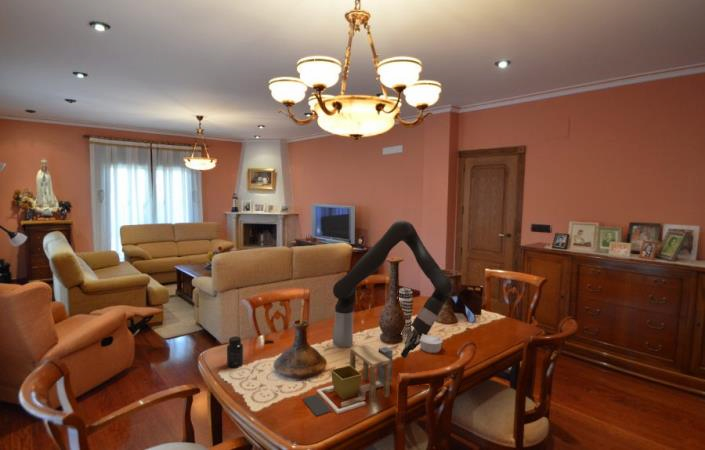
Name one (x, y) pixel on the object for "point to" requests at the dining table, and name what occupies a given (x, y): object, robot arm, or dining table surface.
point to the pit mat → (316, 405)
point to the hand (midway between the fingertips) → (402, 356)
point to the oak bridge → (372, 367)
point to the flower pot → (346, 381)
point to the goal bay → (320, 392)
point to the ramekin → (430, 343)
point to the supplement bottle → (235, 352)
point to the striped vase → (406, 308)
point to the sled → (362, 389)
